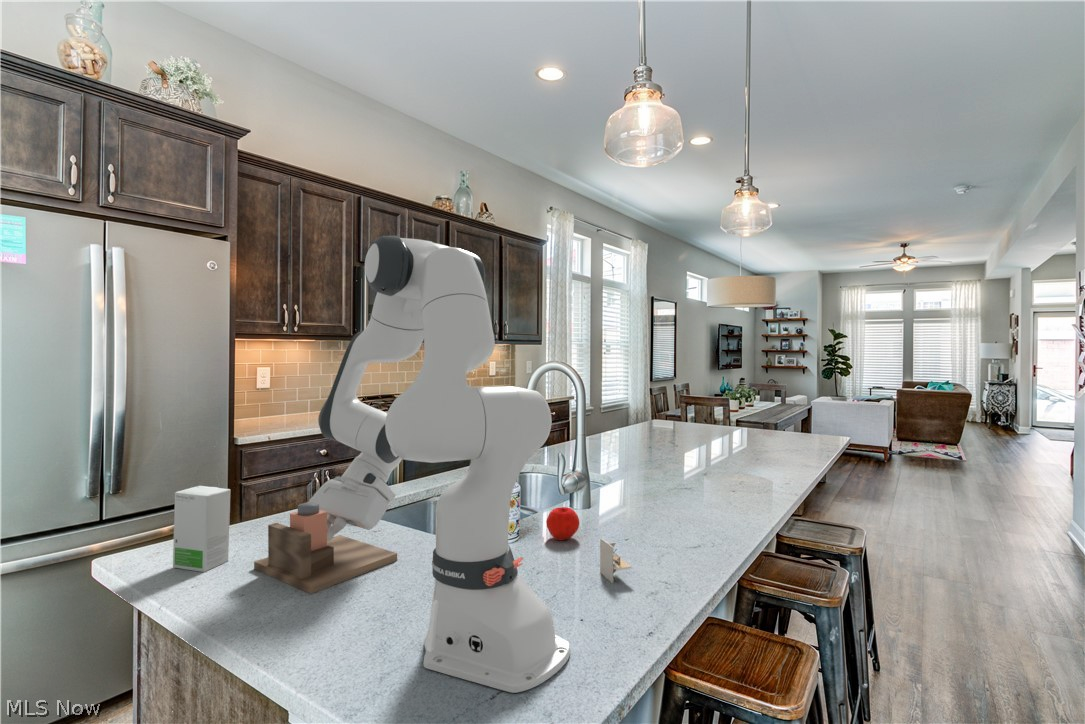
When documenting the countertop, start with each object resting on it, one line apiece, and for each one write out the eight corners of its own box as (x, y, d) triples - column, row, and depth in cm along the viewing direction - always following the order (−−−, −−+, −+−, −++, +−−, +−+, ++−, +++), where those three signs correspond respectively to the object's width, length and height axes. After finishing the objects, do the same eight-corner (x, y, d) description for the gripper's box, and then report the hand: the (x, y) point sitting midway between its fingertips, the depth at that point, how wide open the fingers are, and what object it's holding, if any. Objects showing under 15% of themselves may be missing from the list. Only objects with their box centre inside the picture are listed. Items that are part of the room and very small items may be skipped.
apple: (566, 547, 126) (566, 514, 126) (539, 539, 131) (539, 508, 130) (585, 537, 132) (585, 506, 132) (558, 531, 137) (558, 501, 137)
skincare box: (171, 568, 112) (171, 492, 112) (199, 556, 119) (198, 484, 119) (205, 572, 110) (205, 495, 110) (231, 560, 117) (231, 487, 117)
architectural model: (615, 572, 113) (615, 535, 113) (631, 585, 106) (631, 547, 106) (599, 574, 112) (599, 537, 112) (615, 588, 105) (615, 549, 105)
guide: (397, 560, 117) (397, 515, 117) (310, 593, 101) (310, 542, 101) (340, 541, 129) (339, 500, 129) (254, 568, 112) (253, 522, 112)
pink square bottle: (327, 561, 112) (327, 504, 112) (304, 568, 108) (304, 509, 108) (312, 555, 115) (312, 500, 115) (290, 563, 111) (289, 505, 111)
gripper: (325, 467, 126) (284, 521, 118) (384, 479, 114) (343, 540, 106) (342, 483, 129) (304, 536, 122) (401, 496, 118) (362, 556, 110)
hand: (322, 538), depth 114 cm, fingers closed, pressing on pink square bottle
